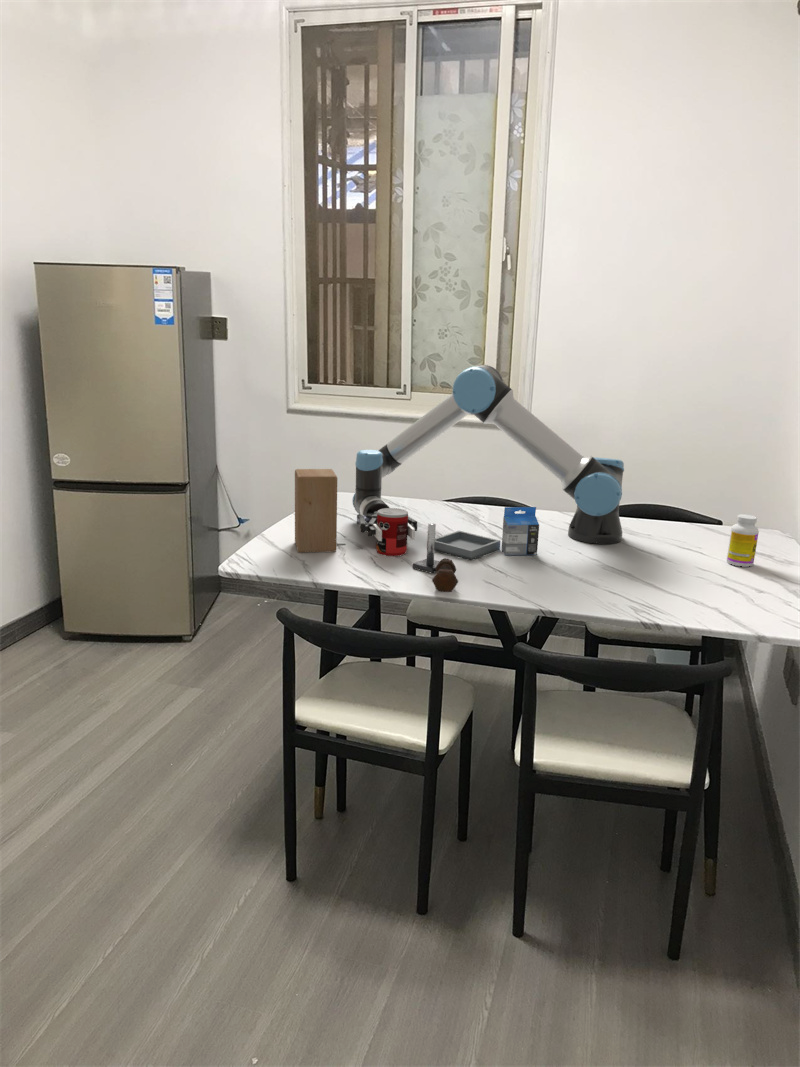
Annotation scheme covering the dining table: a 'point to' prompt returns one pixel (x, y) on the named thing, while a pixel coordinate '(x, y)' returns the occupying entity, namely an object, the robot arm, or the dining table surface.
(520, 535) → the label tape box
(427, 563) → the stand
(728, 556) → the supplement bottle
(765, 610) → the dining table surface
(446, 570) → the brown hex dumbbell
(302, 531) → the wooden block
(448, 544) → the tray
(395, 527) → the canned food
